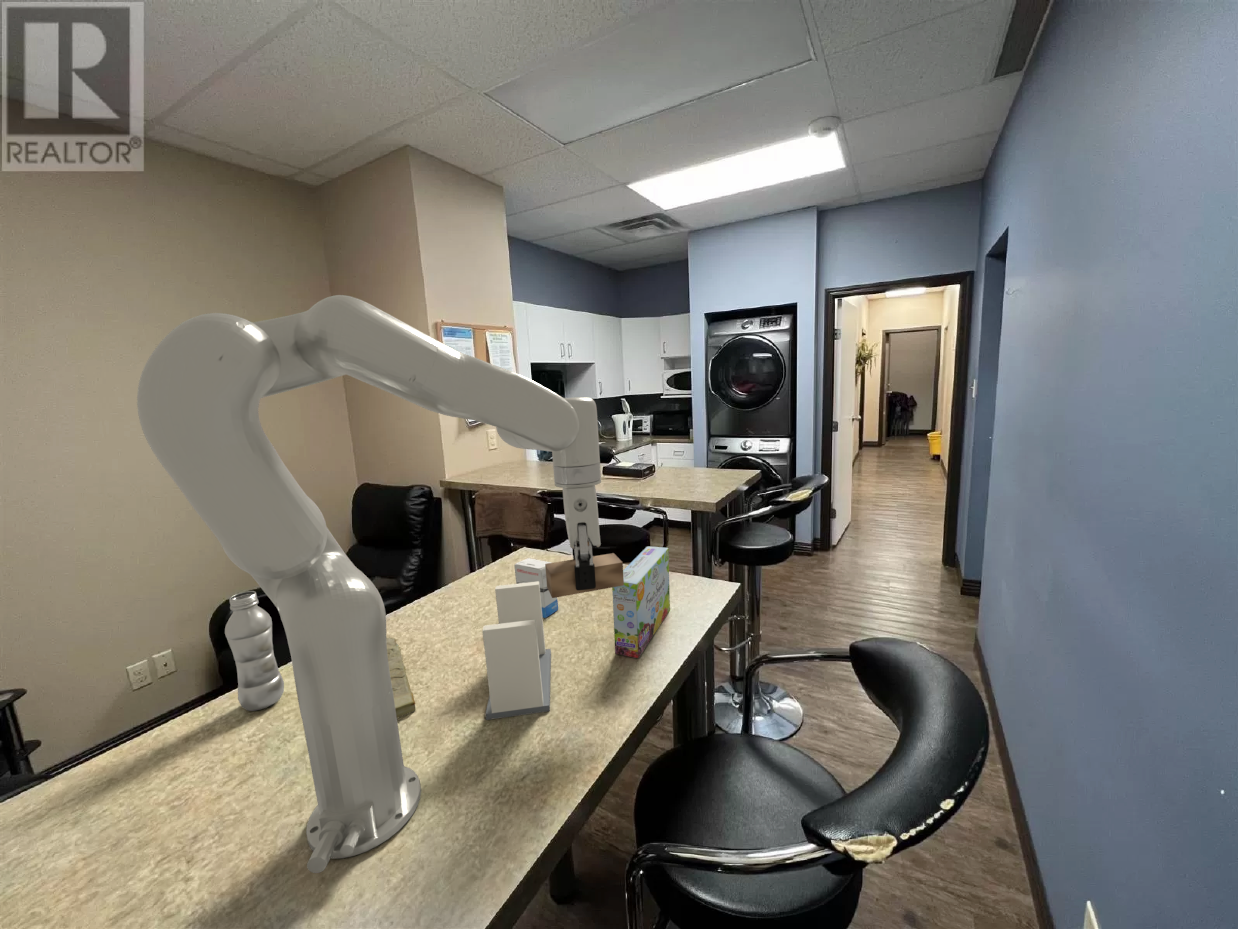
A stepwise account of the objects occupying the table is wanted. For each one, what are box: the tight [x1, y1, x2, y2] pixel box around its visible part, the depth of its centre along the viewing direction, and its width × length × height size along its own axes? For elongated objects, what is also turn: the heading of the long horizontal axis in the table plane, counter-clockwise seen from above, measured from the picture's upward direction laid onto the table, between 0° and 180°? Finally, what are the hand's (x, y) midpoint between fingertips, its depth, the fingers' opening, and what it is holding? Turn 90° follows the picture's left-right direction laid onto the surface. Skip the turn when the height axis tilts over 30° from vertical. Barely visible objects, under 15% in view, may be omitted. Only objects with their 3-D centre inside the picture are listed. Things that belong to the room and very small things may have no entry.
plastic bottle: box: [224, 590, 285, 712], centre depth 82 cm, size 6×7×20 cm
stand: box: [482, 581, 552, 721], centre depth 83 cm, size 17×10×15 cm, turn 7°
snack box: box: [611, 545, 671, 659], centre depth 99 cm, size 21×6×15 cm, turn 158°
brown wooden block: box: [545, 552, 624, 598], centre depth 80 cm, size 12×5×4 cm, turn 108°
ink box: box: [513, 557, 559, 619], centre depth 111 cm, size 8×5×12 cm, turn 58°
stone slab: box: [386, 637, 416, 719], centre depth 88 cm, size 12×4×30 cm
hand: (584, 580), depth 80 cm, fingers closed on brown wooden block, 5 cm apart
